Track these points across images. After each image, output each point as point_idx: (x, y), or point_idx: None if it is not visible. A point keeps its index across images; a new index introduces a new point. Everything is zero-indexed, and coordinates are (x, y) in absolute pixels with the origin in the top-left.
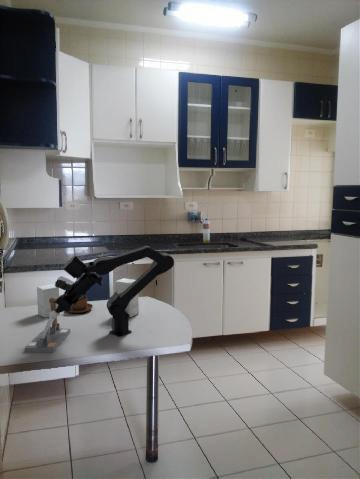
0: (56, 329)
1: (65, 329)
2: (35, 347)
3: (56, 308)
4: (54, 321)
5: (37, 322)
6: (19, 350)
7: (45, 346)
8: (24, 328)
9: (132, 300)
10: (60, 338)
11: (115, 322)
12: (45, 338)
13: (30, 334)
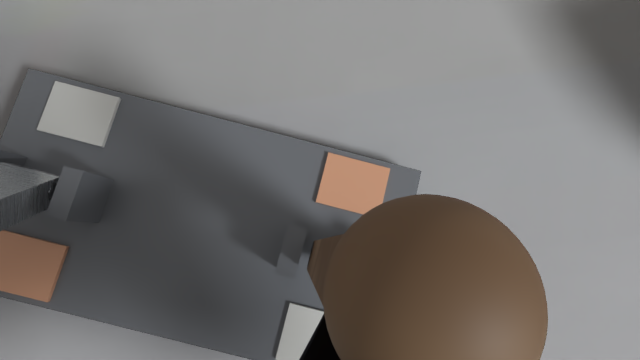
0: None
1: None
2: (10, 143)
3: (305, 348)
4: (309, 271)
5: (616, 98)
6: (87, 43)
7: None
8: (499, 24)
9: None
10: (152, 323)
11: None
12: (46, 209)
13: (373, 78)
